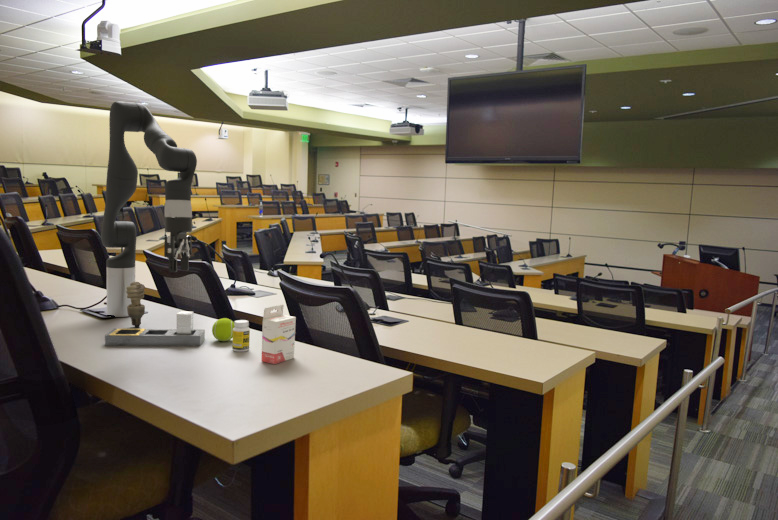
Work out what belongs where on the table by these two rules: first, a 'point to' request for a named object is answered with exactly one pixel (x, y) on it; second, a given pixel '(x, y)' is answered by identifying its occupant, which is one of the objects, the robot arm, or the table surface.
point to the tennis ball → (223, 329)
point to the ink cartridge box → (277, 335)
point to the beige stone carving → (135, 302)
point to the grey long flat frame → (153, 337)
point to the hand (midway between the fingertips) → (179, 271)
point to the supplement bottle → (241, 336)
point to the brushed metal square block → (184, 323)
